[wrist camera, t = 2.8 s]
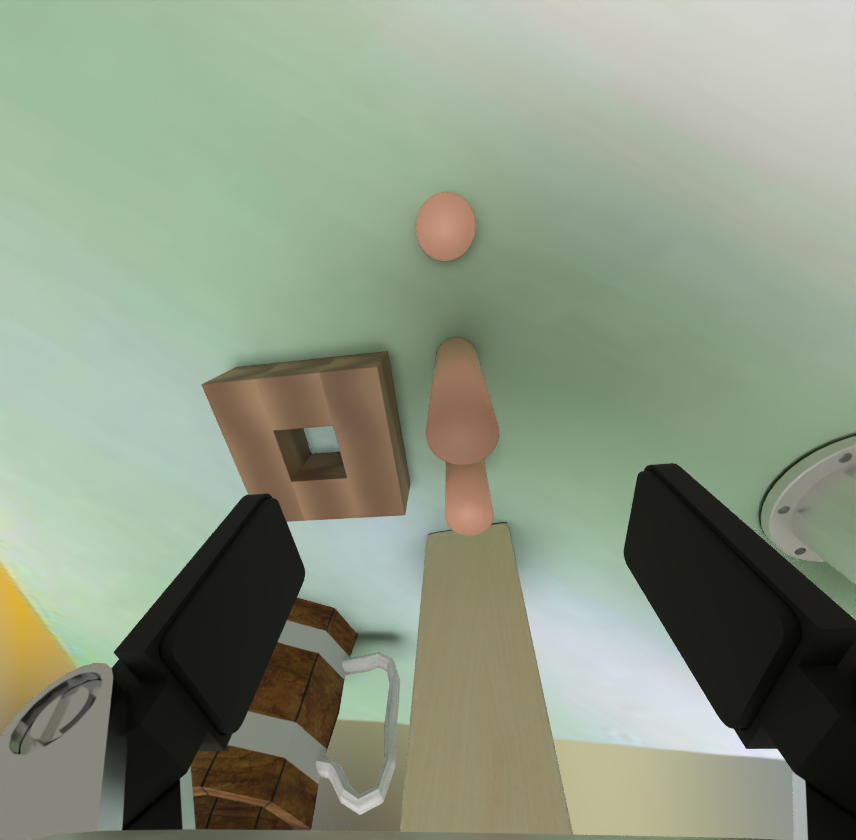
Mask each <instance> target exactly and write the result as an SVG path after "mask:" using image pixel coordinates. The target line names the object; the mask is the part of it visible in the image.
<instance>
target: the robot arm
mask: <svg viewBox="0 0 856 840" xmlns="http://www.w3.org/2000/svg"><path fill="white" fill-rule="evenodd" d="M761 525H762V529H763V531H764V533H765V535H766V537H767V538H768V539H769V540H770V541H771V542H772V543H773V544H774V545H776V546H777V547H778V548H779V549H780V550H782V551H783V552H784V553H786V554H788V555H790V556H792V557H794V558H798V559H802V560H806V561H816V562H827V563H828V564H830V565H831V566H832V567H833V568H835V569H836V570H837V571H838V572H840V573H841V574H842V575H843V576H845V577H846V578H847V579H848V580H850V581H851V582H852V583H853V584H855V585H856V436H853V437H850V438H847V439H844V440H841V441H838V442H835V443H833V444H831V445H828V446H826V447H824V448H822V449H820V450H818V451H816V452H814V453H812V454H811V455H809V456H808V457H806V458H804V459H803V460H801V461H800V462H798V463H797V464H796V465H795V466H793V467H792V468H791V469H789V470H788V471H787V472H786V473H785V474H784V475H783V476H782V477H781V478H780V479H779V480H778V481H777V482H776V484H775V485H774V486H773V488H772V489H771V491H770V492H769V493H768V495H767V498H766V500H765V502H764V504H763V507H762V513H761ZM624 558H625V561H626V564H627V566H628V568H629V569H630V571H631V573H632V574H633V576H634V578H635V579H636V581H637V583H638V584H639V586H640V588H641V589H642V591H643V592H644V594H645V596H646V597H647V599H648V601H649V602H650V604H651V606H652V607H653V609H654V611H655V612H656V614H657V616H658V617H659V619H660V621H661V622H662V624H663V626H664V627H665V629H666V631H667V632H668V634H669V636H670V637H671V639H672V641H673V642H674V644H675V646H676V647H677V649H678V651H679V652H680V654H681V656H682V657H683V659H684V661H685V662H686V664H687V666H688V667H689V669H690V671H691V672H692V674H693V675H694V677H695V679H696V680H697V682H698V684H699V685H700V687H701V689H702V690H703V692H704V694H705V695H706V697H707V699H708V700H709V702H710V704H711V705H712V707H713V709H714V710H715V712H716V714H717V715H718V717H719V718H720V720H721V721H722V722H723V723H724V724H725V725H726V726H727V727H729V728H734V730H735V731H736V733H737V735H738V736H739V738H740V739H741V741H742V743H743V744H744V746H745V748H746V749H778V750H779V752H780V753H781V755H782V756H783V757H784V759H785V760H786V762H787V763H788V765H789V766H790V768H791V769H792V778H793V824H794V826H793V827H794V840H856V620H855V619H853V618H852V617H851V616H850V615H849V614H848V613H847V612H845V611H844V610H843V609H842V608H841V607H840V606H839V605H837V604H836V603H835V602H834V601H833V600H832V599H831V598H829V597H828V596H827V595H826V594H825V593H824V592H823V591H821V590H820V589H819V588H818V587H817V586H816V585H815V584H813V583H812V582H811V581H810V580H809V579H808V578H807V577H805V576H804V575H803V574H802V573H801V572H800V571H799V570H797V569H796V568H795V567H794V566H793V565H792V564H791V563H789V562H788V561H787V560H786V559H785V558H784V557H783V556H781V555H780V554H779V553H778V552H777V551H776V550H775V549H773V548H772V547H771V546H770V545H769V544H768V543H767V542H765V541H764V540H763V539H762V538H761V537H760V536H759V535H757V534H756V533H755V532H754V531H753V530H752V529H751V528H750V527H748V526H747V525H746V524H745V523H744V522H743V521H742V520H740V519H739V518H738V517H737V516H736V515H735V514H734V513H732V512H731V511H730V510H729V509H728V508H727V507H726V506H724V505H723V504H722V503H721V502H720V501H719V500H718V499H716V498H715V497H714V496H713V495H712V494H711V493H710V492H708V491H707V490H706V489H705V488H704V487H703V486H702V485H700V484H699V483H698V482H697V481H696V480H695V479H694V478H692V477H691V476H690V475H689V474H688V473H687V472H686V471H684V470H683V469H682V468H681V467H680V466H678V465H677V464H673V463H671V464H657V465H648V466H647V467H646V468H645V469H644V471H643V472H640V473H639V474H638V477H637V481H636V487H635V492H634V498H633V503H632V508H631V514H630V519H629V525H628V530H627V535H626V541H625V546H624ZM304 577H305V568H304V565H303V563H302V560H301V558H300V555H299V553H298V550H297V547H296V545H295V542H294V540H293V537H292V535H291V532H290V530H289V527H288V524H287V522H286V519H285V517H284V514H283V512H282V509H281V507H280V504H279V502H278V500H277V499H275V498H272V496H271V495H270V494H267V493H265V494H252V495H246V496H244V497H243V498H242V499H241V500H240V501H239V502H238V504H237V505H236V506H235V507H234V508H233V510H232V511H231V512H230V513H229V514H228V516H227V517H226V518H225V519H224V520H223V522H222V523H221V524H220V525H219V526H218V528H217V529H216V530H215V531H214V532H213V534H212V535H211V536H210V537H209V538H208V540H207V541H206V542H205V543H204V544H203V546H202V547H201V548H200V549H199V550H198V552H197V553H196V554H195V555H194V556H193V558H192V559H191V560H190V561H189V562H188V564H187V565H186V566H185V567H184V568H183V570H182V571H181V572H180V573H179V574H178V576H177V577H176V578H175V579H174V580H173V582H172V583H171V584H170V585H169V586H168V588H167V589H166V590H165V591H164V592H163V594H162V595H161V596H160V597H159V598H158V600H157V601H156V602H155V603H154V604H153V606H152V607H151V608H150V609H149V610H148V612H147V613H146V614H145V615H144V616H143V618H142V619H141V620H140V621H139V622H138V624H137V625H136V626H135V627H134V628H133V630H132V631H131V632H130V633H129V634H128V636H127V637H126V638H125V639H124V640H123V642H122V643H121V644H120V645H119V646H118V648H117V649H116V650H115V651H114V653H115V655H116V656H117V657H118V658H119V660H118V661H117V662H116V664H115V665H114V666H113V667H112V668H110V667H109V666H108V665H107V664H103V663H93V664H90V665H86V666H82V667H80V668H78V669H76V670H73V671H71V672H69V673H67V674H65V675H64V676H62V677H61V678H59V679H58V680H56V681H54V682H53V683H51V684H50V685H48V686H47V687H46V688H45V689H44V690H42V691H41V692H40V693H39V694H37V695H36V696H35V697H34V698H32V700H30V701H29V702H28V704H27V705H26V706H24V707H23V709H22V710H21V711H20V712H19V713H18V714H17V715H16V716H15V717H14V719H13V720H12V721H11V723H10V724H9V725H8V727H7V728H6V729H5V731H4V733H3V734H2V736H1V738H0V840H770V839H749V838H748V839H747V838H705V837H660V836H659V837H657V836H614V835H569V834H512V833H453V832H388V831H387V832H386V831H310V830H213V829H196V828H195V816H194V803H193V790H192V778H191V764H192V762H193V760H194V758H195V756H196V754H197V752H198V750H200V751H225V750H226V747H227V745H228V743H229V741H230V738H231V736H232V734H233V733H235V732H236V731H238V730H239V728H240V727H241V725H242V723H243V722H244V719H245V717H246V715H247V712H248V710H249V708H250V705H251V703H252V701H253V698H254V696H255V694H256V691H257V689H258V687H259V684H260V682H261V680H262V677H263V675H264V673H265V670H266V668H267V666H268V663H269V661H270V659H271V656H272V654H273V652H274V649H275V647H276V645H277V642H278V640H279V638H280V635H281V633H282V631H283V628H284V626H285V624H286V621H287V619H288V617H289V614H290V612H291V610H292V607H293V605H294V603H295V600H296V598H297V596H298V593H299V591H300V589H301V586H302V584H303V581H304ZM771 840H772V839H771Z"/></svg>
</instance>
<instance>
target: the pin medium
mask: <svg viewBox="0 0 856 840" xmlns="http://www.w3.org/2000/svg"><path fill="white" fill-rule="evenodd" d="M493 519H494V515H493V509H492V503H491V497H490V492H489V486H488V480H487V474H486V469H485V463H484V459H482V460H480V461H478V462H475V463H472V464H467V465H457V464H452V463H448V462H446V493H445V520H446V523H447V525H448V526H449V528H450V529H451V530H453V531H454V532H456V533H458V534H461V535H467V536H471V535H477V534H480V533H483V532H484V531H486V530H487V529H488V528H489V527H490V526H491V524H492V522H493Z"/></svg>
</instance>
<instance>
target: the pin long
mask: <svg viewBox="0 0 856 840" xmlns="http://www.w3.org/2000/svg"><path fill="white" fill-rule="evenodd" d="M498 437H499V427H498V423H497V420H496V416H495V413H494V410H493V406H492V403H491V400H490V396H489V393H488V390H487V386H486V383H485V380H484V376H483V373H482V369H481V366H480V363H479V359H478V356H477V353H476V350H475V348H474V346H473V345H472V344H471V343H470V342H469V341H468V340H466V339H464V338H459V337H454V338H450V339H448V340H446V341H444V342H443V343H442V344H441V345H440V347H439V348H438V350H437V354H436V360H435V368H434V375H433V382H432V390H431V397H430V404H429V412H428V419H427V427H426V439H427V442H428V445H429V447H430V449H431V450H432V451H433V453H434V454H435V455H436V456H438V457H439V458H440V459H442V460H444V461H446V462H448V463H452V464H457V465H467V464H472V463H475V462H478V461H480V460H482V459H484V458H485V457H487V456H488V455H489V454H490V453H491V452H492V451H493V449H494V448H495V446H496V444H497V441H498Z"/></svg>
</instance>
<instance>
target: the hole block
mask: <svg viewBox="0 0 856 840" xmlns="http://www.w3.org/2000/svg"><path fill="white" fill-rule="evenodd" d="M202 387H203V389H204V392H205V394H206V396H207V399H208V401H209V403H210V406H211V408H212V410H213V413H214V415H215V417H216V420H217V422H218V424H219V427H220V429H221V431H222V434H223V436H224V439H225V441H226V443H227V446H228V448H229V450H230V453H231V455H232V457H233V460H234V462H235V464H236V467H237V469H238V471H239V474H240V476H241V478H242V481H243V483H244V485H245V488H246V490H247V492H248V495H252V494H265V493H267V494H270V495H271V496H272V498H275V499H277V500H278V502H279V504H280V507H281V509H282V512H283V514H284V517H285V519H286V522H287V521H306V520H324V519H343V518H362V517H380V516H399V515H405V512H406V506H407V500H408V494H409V488H410V480H409V474H408V468H407V462H406V457H405V451H404V445H403V439H402V433H401V427H400V421H399V416H398V410H397V404H396V398H395V392H394V386H393V380H392V374H391V369H390V363H389V357H388V351H387V352H378V353H368V354H359V355H349V356H340V357H330V358H320V359H311V360H301V361H292V362H282V363H272V364H263V365H253V366H244V367H236V368H234V369H232V370H230V371H228V372H226V373H224V374H222V375H220V376H218V377H216V378H214V379H212V380H210V381H208V382H206V383H204V384H202ZM322 426H334V430H335V434H336V437H337V441H338V445H339V449H340V452H336V453H322V454H311V453H310V450H309V447H308V443H307V440H306V437H305V434H304V431H303V428H310V427H322Z"/></svg>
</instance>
